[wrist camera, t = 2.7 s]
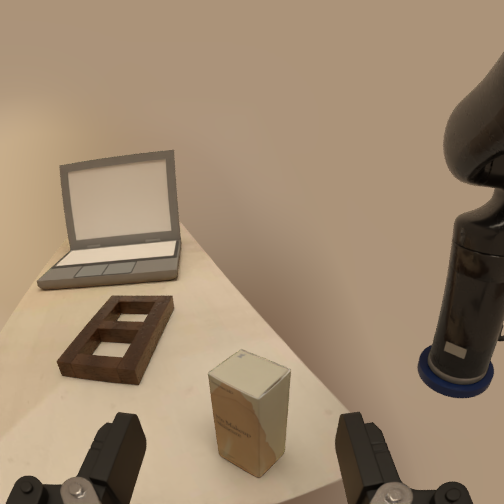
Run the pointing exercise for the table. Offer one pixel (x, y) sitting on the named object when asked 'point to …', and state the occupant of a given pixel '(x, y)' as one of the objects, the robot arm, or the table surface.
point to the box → (250, 410)
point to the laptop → (118, 222)
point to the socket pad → (118, 340)
